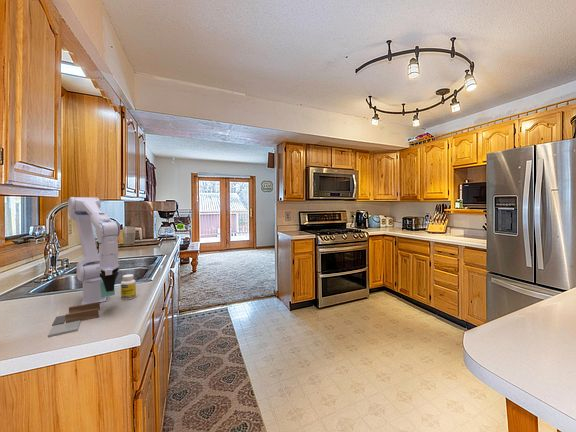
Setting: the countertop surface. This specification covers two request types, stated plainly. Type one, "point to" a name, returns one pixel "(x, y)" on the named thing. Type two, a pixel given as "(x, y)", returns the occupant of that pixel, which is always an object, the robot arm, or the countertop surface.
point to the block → (103, 291)
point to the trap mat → (59, 320)
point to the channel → (83, 312)
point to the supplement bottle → (128, 287)
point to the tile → (64, 328)
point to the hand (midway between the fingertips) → (110, 289)
